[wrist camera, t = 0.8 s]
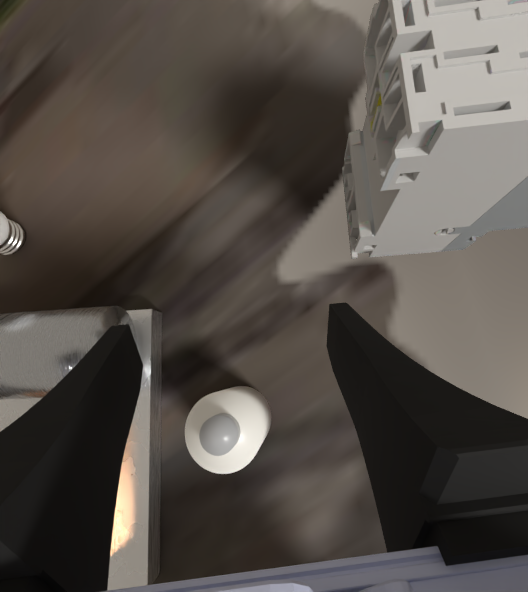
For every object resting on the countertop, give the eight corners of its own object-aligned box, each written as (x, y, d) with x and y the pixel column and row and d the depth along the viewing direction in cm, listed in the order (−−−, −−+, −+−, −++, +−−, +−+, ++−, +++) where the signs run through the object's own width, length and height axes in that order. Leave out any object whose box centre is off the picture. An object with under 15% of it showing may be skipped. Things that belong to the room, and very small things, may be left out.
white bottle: (273, 448, 25) (261, 479, 18) (212, 450, 26) (177, 481, 19) (270, 384, 26) (257, 390, 19) (211, 387, 27) (177, 394, 20)
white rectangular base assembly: (159, 573, 25) (97, 662, 17) (-2, 571, 26) (-126, 654, 18) (162, 313, 28) (111, 293, 21) (20, 322, 29) (-76, 307, 22)
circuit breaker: (552, 242, 26) (871, 80, 11) (351, 258, 27) (404, 133, 13) (531, 149, 27) (790, -100, 13) (342, 169, 29) (379, -35, 14)
